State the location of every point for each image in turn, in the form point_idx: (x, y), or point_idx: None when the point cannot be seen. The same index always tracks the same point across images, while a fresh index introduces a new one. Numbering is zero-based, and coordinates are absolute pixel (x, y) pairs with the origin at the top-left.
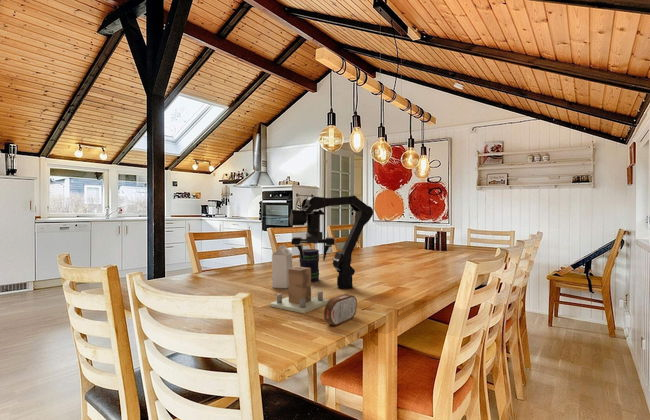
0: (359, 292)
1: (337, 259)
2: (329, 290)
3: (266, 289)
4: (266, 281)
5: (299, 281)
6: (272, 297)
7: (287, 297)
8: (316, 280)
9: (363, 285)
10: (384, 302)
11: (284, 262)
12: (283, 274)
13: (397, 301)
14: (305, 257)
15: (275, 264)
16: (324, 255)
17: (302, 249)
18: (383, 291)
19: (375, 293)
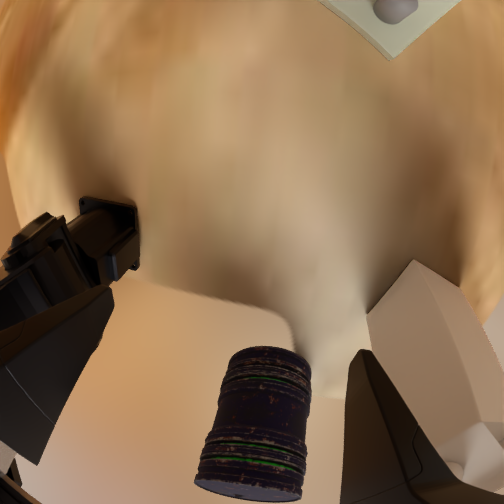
0: (60, 131)
1: (34, 308)
2: (180, 176)
3: (487, 264)
4: None
5: None
6: (496, 103)
7: (440, 10)
8: (239, 354)
9: None
10: (27, 8)
11: (473, 375)
12: (451, 313)
13: (2, 32)
14: (278, 459)
15: (496, 372)
16: (58, 315)
17: (374, 489)
18: (8, 151)
19: (23, 119)
